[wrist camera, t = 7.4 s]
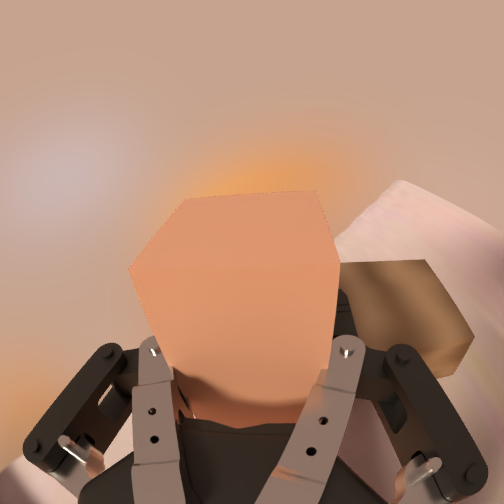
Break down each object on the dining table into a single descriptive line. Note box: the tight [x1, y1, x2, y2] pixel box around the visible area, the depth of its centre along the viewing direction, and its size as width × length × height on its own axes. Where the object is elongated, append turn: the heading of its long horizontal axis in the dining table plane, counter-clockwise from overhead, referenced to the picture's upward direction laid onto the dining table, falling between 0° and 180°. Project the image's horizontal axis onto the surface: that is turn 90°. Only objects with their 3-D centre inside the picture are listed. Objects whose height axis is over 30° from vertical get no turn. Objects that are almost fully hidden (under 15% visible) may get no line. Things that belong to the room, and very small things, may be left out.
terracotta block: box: [128, 191, 340, 428], centre depth 11 cm, size 5×5×12 cm
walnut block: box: [338, 259, 475, 378], centre depth 24 cm, size 12×12×5 cm
